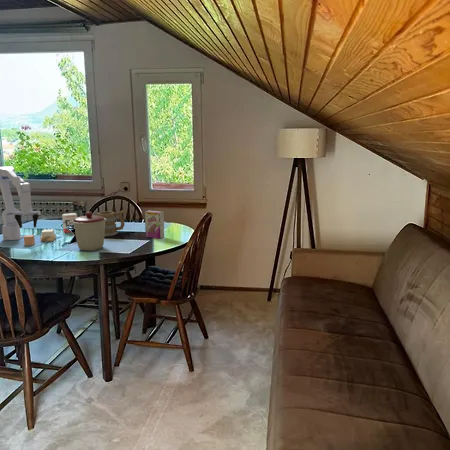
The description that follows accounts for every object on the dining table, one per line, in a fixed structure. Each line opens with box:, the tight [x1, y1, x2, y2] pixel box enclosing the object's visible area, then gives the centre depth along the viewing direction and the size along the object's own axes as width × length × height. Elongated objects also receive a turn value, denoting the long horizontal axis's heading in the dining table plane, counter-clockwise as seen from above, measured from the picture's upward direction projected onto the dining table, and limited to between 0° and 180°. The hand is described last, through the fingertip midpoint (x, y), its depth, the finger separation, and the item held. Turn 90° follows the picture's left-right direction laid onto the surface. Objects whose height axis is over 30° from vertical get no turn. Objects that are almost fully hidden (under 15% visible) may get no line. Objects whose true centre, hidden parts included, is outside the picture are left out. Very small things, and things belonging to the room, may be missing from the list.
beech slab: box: [40, 233, 57, 242], centre depth 257 cm, size 7×7×3 cm
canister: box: [72, 211, 106, 252], centre depth 234 cm, size 18×18×21 cm
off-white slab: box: [40, 228, 55, 237], centre depth 256 cm, size 6×6×3 cm
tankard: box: [96, 209, 128, 237], centre depth 271 cm, size 20×13×15 cm, turn 114°
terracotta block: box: [23, 234, 36, 246], centre depth 246 cm, size 4×4×5 cm
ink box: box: [61, 212, 78, 234], centre depth 277 cm, size 8×5×12 cm, turn 123°
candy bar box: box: [144, 210, 165, 240], centre depth 261 cm, size 11×5×16 cm, turn 65°
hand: (28, 227), depth 244 cm, fingers open, 7 cm apart
